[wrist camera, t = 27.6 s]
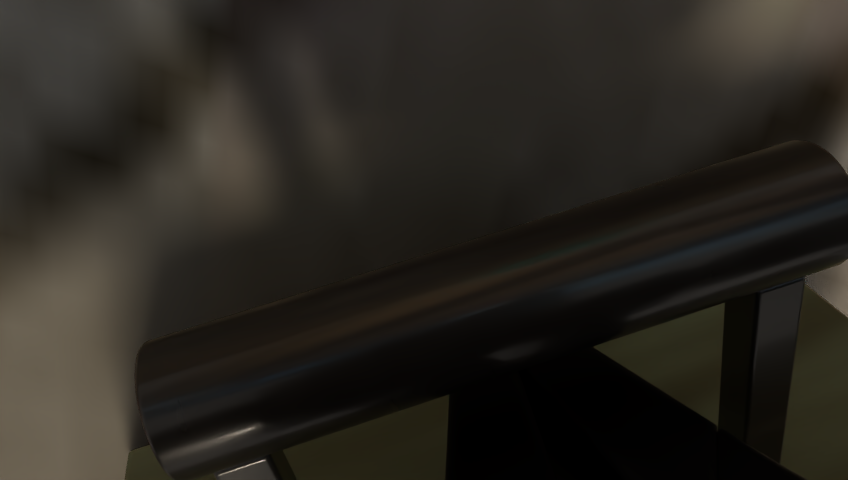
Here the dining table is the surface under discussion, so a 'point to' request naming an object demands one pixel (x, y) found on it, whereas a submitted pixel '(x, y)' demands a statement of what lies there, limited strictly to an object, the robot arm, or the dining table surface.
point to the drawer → (531, 333)
